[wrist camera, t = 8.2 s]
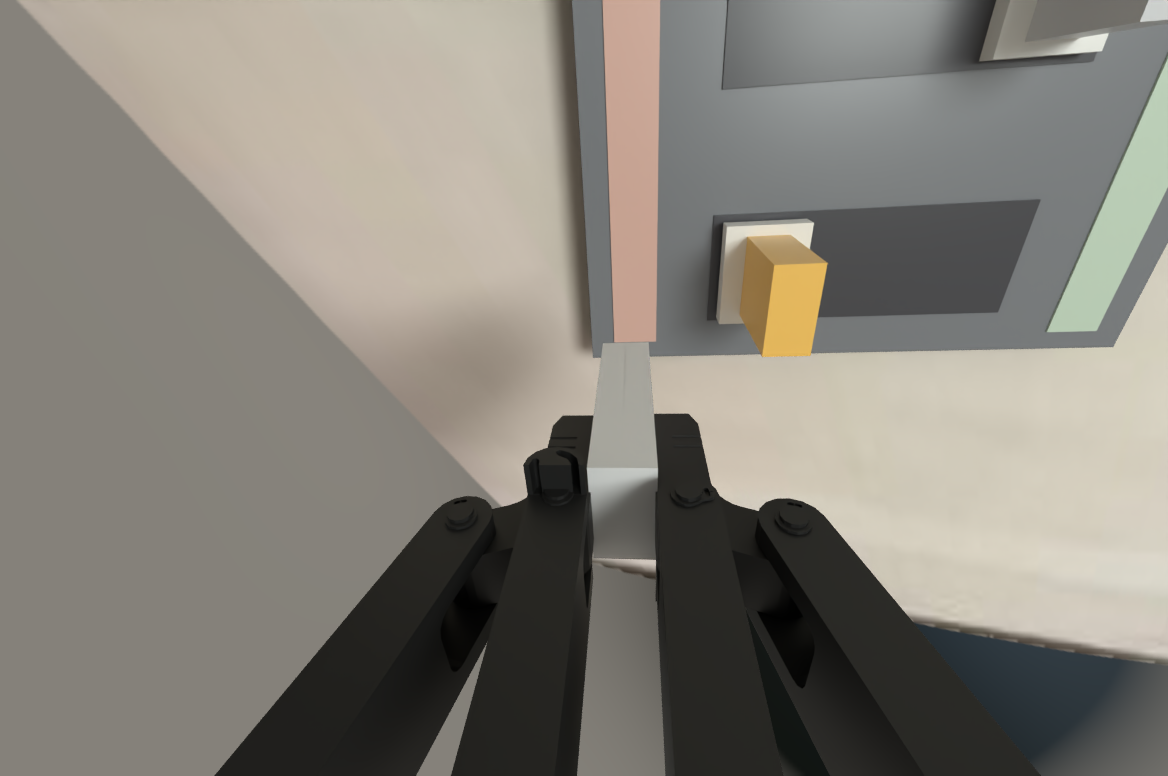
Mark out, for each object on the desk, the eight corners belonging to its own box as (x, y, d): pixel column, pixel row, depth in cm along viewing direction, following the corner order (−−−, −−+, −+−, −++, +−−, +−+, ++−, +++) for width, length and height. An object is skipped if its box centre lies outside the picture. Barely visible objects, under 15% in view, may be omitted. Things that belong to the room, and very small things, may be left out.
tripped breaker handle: (723, 222, 24) (749, 253, 19) (807, 218, 24) (857, 248, 18) (716, 317, 26) (737, 367, 21) (792, 315, 26) (832, 365, 21)
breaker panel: (572, -80, 21) (542, -183, 14) (1307, -164, 18) (1767, -349, 11) (595, 340, 31) (585, 411, 24) (1075, 328, 28) (1234, 405, 21)
